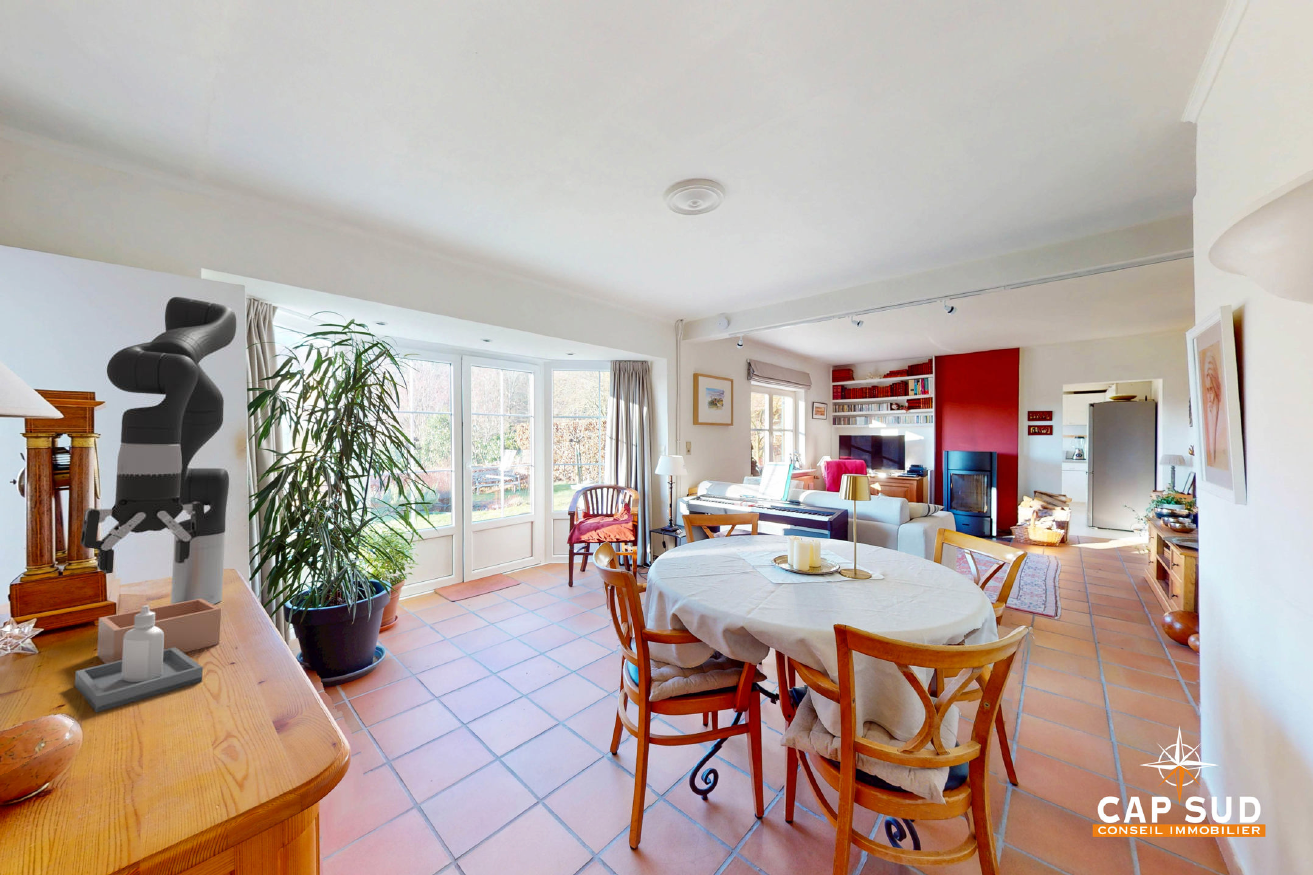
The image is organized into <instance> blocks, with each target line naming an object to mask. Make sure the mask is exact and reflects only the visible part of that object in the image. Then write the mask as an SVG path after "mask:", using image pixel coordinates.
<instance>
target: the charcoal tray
mask: <svg viewBox="0 0 1313 875" xmlns="http://www.w3.org/2000/svg"><path fill="white" fill-rule="evenodd" d="M203 668H204V667H203V666H202V665H201V664H199V663H197V662H196V661H195V660H193V658H191V657H190V656H188V655H187V654H185V653H183V652H181V651H180V650H178V649H177V648H176V647H173V648H169V649H165V650H163V669H162V675H161V676H160V677H158V678H155V679H152V680H148V681H144V682H127V681H124V680H123V679H122V678H121V673H122V660H120V661H115V662H111V663H107V664H105V663H103V664H100V665H97V666H96V665H95V666H91V667H87V668H84V669H80V670H79V669H77V670H75V676H74V677H75V678H74V679H75V680H74V687H75V688H76V689H77V691H78V692H79V693H80V694H81V695H82V696H83V698H84V699H85V700H86V702H87V703H88V704H89V705H90V706H91V708H92V709H93V711H95V713H96V714H97V713H100V712H104V711H108V710H110V709H113V708H117V707H120V706H124V705H126V704H130V703H133V702H134V703H135V702H137V701H141V700H143V699H147V698H150V697H155V696H157V695H161V694H164V693H167V692H171V691H174V690H177V689H181V688H184V687H188V686H190V685H194V684H197V683H201V682H203Z"/></svg>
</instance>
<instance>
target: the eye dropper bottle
mask: <svg viewBox="0 0 1313 875" xmlns="http://www.w3.org/2000/svg"><path fill="white" fill-rule="evenodd" d="M149 608H150V606H149V605H143V606H142V607H141V609H140V610H141V612H140V613H139V614H137V615H135V619H134V629H132V630H129V631H128V632H126V633H125V635H124V640H123V654H122V673H121V678H122V679H123V680H124V681H127V682H144V681H148V680H152V679H155V678H158V677H160V676H161V675H162V669H163V649H164V633H163V631H162V630H161V629H160V628H158V627H156V626H154V625H155V612H151V611H150V610H149Z"/></svg>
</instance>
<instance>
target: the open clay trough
mask: <svg viewBox="0 0 1313 875" xmlns="http://www.w3.org/2000/svg"><path fill="white" fill-rule="evenodd" d="M141 610H142V609H139V610H138V609H137V610H134V611H133V610H132V611H128V612H121V613H117V614H112V615H108V616H107V615H106V616H102V617H98V628H97V629H98V632H97V648H96V649H97V651H96V652H97V653H96V656H97V657H98V658H99V659H100V660H101V661H102V662H103V664H107V663H111V662H115V661H120V660H122V654H123V640H124V635H125V633H126V632H128V631H129V630H132V629H134V619H135V615H137V614H139V613H140V612H141ZM149 610H150V611H151V612H155V625H154V626H156V627H158V628H160V629H161V630H162V631H163V633H164V649H163V650H165V649H169V648H173V647H176V648H177V649H178V650H180V651H181V652H183V653H184V654H185V653H188V652H191V651H195V650H196V651H197V650H200V649H204V648H208V647H212V646H216V645H219V644H220V637H221V635H220V634H221V617H222V616H221V614H222V608H220V607H218V606H217V605H216V604H211V603H209V602H207V601H205V600H204V599H196V600H191V601H186V602H180V603H175V604H171V603H170V604H165V605H161V606H154V607H149Z"/></svg>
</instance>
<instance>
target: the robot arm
mask: <svg viewBox="0 0 1313 875" xmlns="http://www.w3.org/2000/svg"><path fill="white" fill-rule="evenodd" d="M164 311H165V312H164V325H165V327H164V328H165V331H164V332H162V333H160V334H158V336H156V337H155V338H153V339H152V340H151V341H149V342H143V343H139V344H135V345H130V346H127V347H124V348H122V349H120V350H118V351H117V352H116V353H114V355H112V357H111V358H110V359H109V361H108V364H107V366H106V367H107V368H106V375H107V376H106V377H108V380H109V382H110V383H111V384H112V385H113V386H114V387H116V388H117V389H119V390H121V391H124V392H127V393H134V394H149V395H150V394H151V395H165V396H164V398H163V400H162V401H160V402H159V403H158V404H157V405H152V406H142V407H134V408H129V409H126V410H125V411H124V412H123V414H122V417H121V432H120V446H119V451H118V454H117V461H116V462H117V465H116V467H117V468H116V481H115V482H116V483H115V484H116V485H115V500H114V505H113V506H112V507H111V508H93V507H89V508H87V509H85V511H84V514H83V523H82V528H81V537H80V543H79V544H80V545H81V546H82V547H84V548H86V549H92V550H93V549H95V550H97V568H98V570H100V571H102V572H103V573H104V574H107V575H108V574H113V573H114V559H115V558H114V557H115V556H114V555H115V550H114V549H113V547H114V546H115V545H116V544H117V543H118V542H119V541H120V540H122V539H124V538H125V537H126V536H127V535H128V534H129V533H130V532H131V533H134V534H139V533H144V532H149V531H150V532H160V531H163V530H165V529H166V530H168V531H170V532H171V534H173V535H174V536H173V554H172V556H173V557H172V578H171V593H170V594H171V595H170V604H175V603H180V602H186V601H191V600H196V599H204V600H205V601H207V602H209V603H211V604H213V605H216V604H217V603H220V602H222V600H223V584H224V583H223V582H224V566H225V565H224V564H225V563H224V561H225V542H226V541H225V540H226V520H227V519H226V517H227V516H226V515H227V506H228V504H227V503H228V497H229V496H228V495H229V487H230V485H229V484H230V477H229V473H228V470H226V469H225V468H218V467H217V468H214V467H213V468H212V467H211V468H207V467H204V468H201V467H199V468H197V467H195V468H192V467H191V468H190V467H189V465H190V462H191V461H192V459H193V457H195V455H196V454H197V452H198V451H200V449H201V448H202V447H203V446H204V445H206V443H208V441H209V440H210V439H212V438H213V437H214V436H215V435H216V434H217V432H219V430H220V429H221V427H222V425H223V423H224V404H225V403H224V401H225V400H224V397H223V394H222V392H221V391H220V389H219V388H218V386H217V385H216V384H215V382H214V381H213V379H212V378H210V377H209V375H208V374H207V373H206V372H205V371H204V369H203V368H202V367H201V365H200V364H199V363H200V362H201V361H202V360H203V359H204V358H205V357H206V356H209V355H210V354H212V353H215V352H217V351H219V350H221V349H223V348H225V347H227V346H228V345H231V343H232V342H233V340H234V339H235V336H236V333H237V317H236V314H235V311H233V309H231V308H230V307H229V306H226V305H223V304H218V303H215V302H210V301H204V300H198V299H193V298H187V297H181V296H174V297H171V298H170V299H169V300H168V302H167V303H166V307H165V310H164ZM205 506H209V508H208V510H207V511H206V512H205ZM183 511H185V513H186V515H187V516H190V518H188V519H184V520H183V521H179V522H177V521H176V518H177V517H178V516H179V515H180V514H181V513H182V512H183ZM110 516H111V517H112V518H113V519H114V520H115V521H116V522H117V523H116V525H114V526H113V527H112V528H111V529H110V530H109V531H108V533H107V534H106V535H105V536H104V537H103V538H102V539H101V540H100V539H97V537H98V532H99V531H98V530H99V524H101V523H104V522H105V521H106V519H107V517H110Z"/></svg>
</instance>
